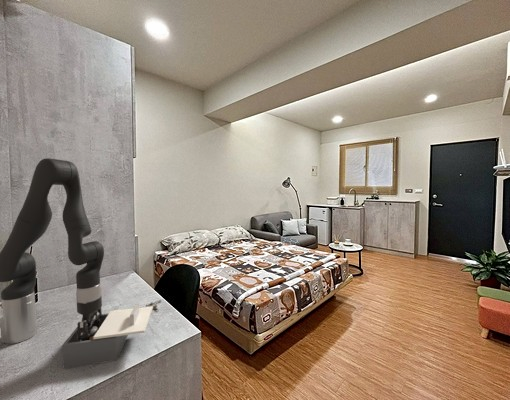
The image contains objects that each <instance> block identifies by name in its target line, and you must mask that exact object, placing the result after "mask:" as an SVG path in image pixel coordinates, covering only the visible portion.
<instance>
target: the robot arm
mask: <svg viewBox="0 0 510 400" xmlns="http://www.w3.org/2000/svg"><path fill="white" fill-rule="evenodd" d="M31 178H32V179H31V183H30V185H29V190H28V192H27V195H26V198H25V200H24V202H23V205H22V206H21V209H20V211H19V213H18V215H17V217H16V220H15V222H14V225H13V227H12V230H11V232H10V234H9V236H8V239H7V240H6V242H5V244H4V246H3V248H2V249H1V251H0V283H7V282H11V281H12V282H11V283H10V284H9V285H8V286H6V287H5V288H4V289H3V290H1V293H0V299H1V309H2V317H0V339H1V341H0V342H1V343H3V344H4V343H5V344H8V345H12V344H18V343H21V342H24V341H26V340H28V339H30V338H32V337H34V336H35V335H36V334H37V333H38V325H37V324H38V323H37V313H36V312H37V309H36V308H37V307H36V297H35V295H36V294H35V286H36V284H37V263H36V260H35V258H34V256H33V255H32V254H31V253H29V252H26V251H27V250H28V249H30V247H31V246H33V244H35V243H36V242H37V241H38V240H39V239H40V238H41V237H42V236H43V235H44V234H45V233H46V231H47V230H48V228H49V225H50V223H51V220H52V218H53V212H52V208H51V206H50V202H49V199H48V198H49V194H50V191H51V189H52V187H53V186H54V185H57V186H63V188H64V190H65V194H66V198H65V199H66V200H65V205H64V207H63V210H62V222H63V225H64V228H65V231H66V233H67V245H68V246H67V247H68V248H67V255H68V261H70V263H72V264H73V265H74V266H82V265H85V264H86V265H85V266H84V267H82V268H81V269H79V270H78V271H76V274H75V280H76V281H75V282H76V292H75V293H76V294H75V296H76V298H75V299H76V312H77V313H78V314H79V315H82V316H81V317H82V318H81V321H78V322H77V323H76V324H77V326H76V327H78V340H80V339H82V341H86V340H90V331H91V330H92V328H93V326H96V327H97V328H98V330H99V322H100V318H101V317H102V314H103V313H102V306H103V300H102V298H103V297H102V286H101V275H100V274H101V268H102V264H103V260H104V257H105V249H104V246H103V244H102V243H101V242H99V241H96V240H95V241H90V242H85V243H83V239H84V238H85V237H88V236H89V235H91V234H92V228H91V225H90V221H89V218H88V217H87V213H86V211H85V205H84V201H83V191H82V186H81V181H80V179H81V178H80V174H79V170H78V168H77V166H76V164H75V163H74V162H72V161H69V160H63V159H56V158H47V157H45V158H43V159H41V160H40V161H39V162H38V163H37V164H36V166H35V169H34V172H33V175H32V177H31ZM87 326H90V327H87ZM87 330H88V332H87Z"/></svg>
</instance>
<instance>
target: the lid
mask: <svg viewBox="0 0 510 400" xmlns="http://www.w3.org/2000/svg"><path fill="white" fill-rule="evenodd" d="M150 306H151V305H150ZM152 309H153V306H151V307H148V306H147V307H146V306H144V307H140V303H134V306H133V308H127V309H126V308H125V309H117V310H110V311H109V314H108V316H107V317H106V319H105V320H104V322H103V323H102V325H101V327H100V328H99V330H98V331H97V333H96V334H95V336H94V337H93V340H94V339H101V338H108V337H116V336H123V335H128V336H129V335H130V336H131V335H136V334H145V332H146V329H147V328H148V327H147V326H148V324H149V321H150V318H151V315H152V312H153V310H152Z"/></svg>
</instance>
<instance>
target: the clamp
mask: <svg viewBox="0 0 510 400" xmlns="http://www.w3.org/2000/svg"><path fill="white" fill-rule="evenodd" d="M161 302H162V301H161V299H159V300H157V301H154V302H153V301H151V302H150V303H149V304H146V305H145V307H151V306H153V309H152V311H154V310H157V311H159V308H158V305H157V303H161Z"/></svg>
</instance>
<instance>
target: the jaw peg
mask: <svg viewBox="0 0 510 400" xmlns="http://www.w3.org/2000/svg"><path fill="white" fill-rule="evenodd" d="M97 331H98V328H97V327H96V326H93V328H92V330H91V331H90V340H93V337H94V336H95V334H96V333H97ZM87 332H88V330H87Z"/></svg>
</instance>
